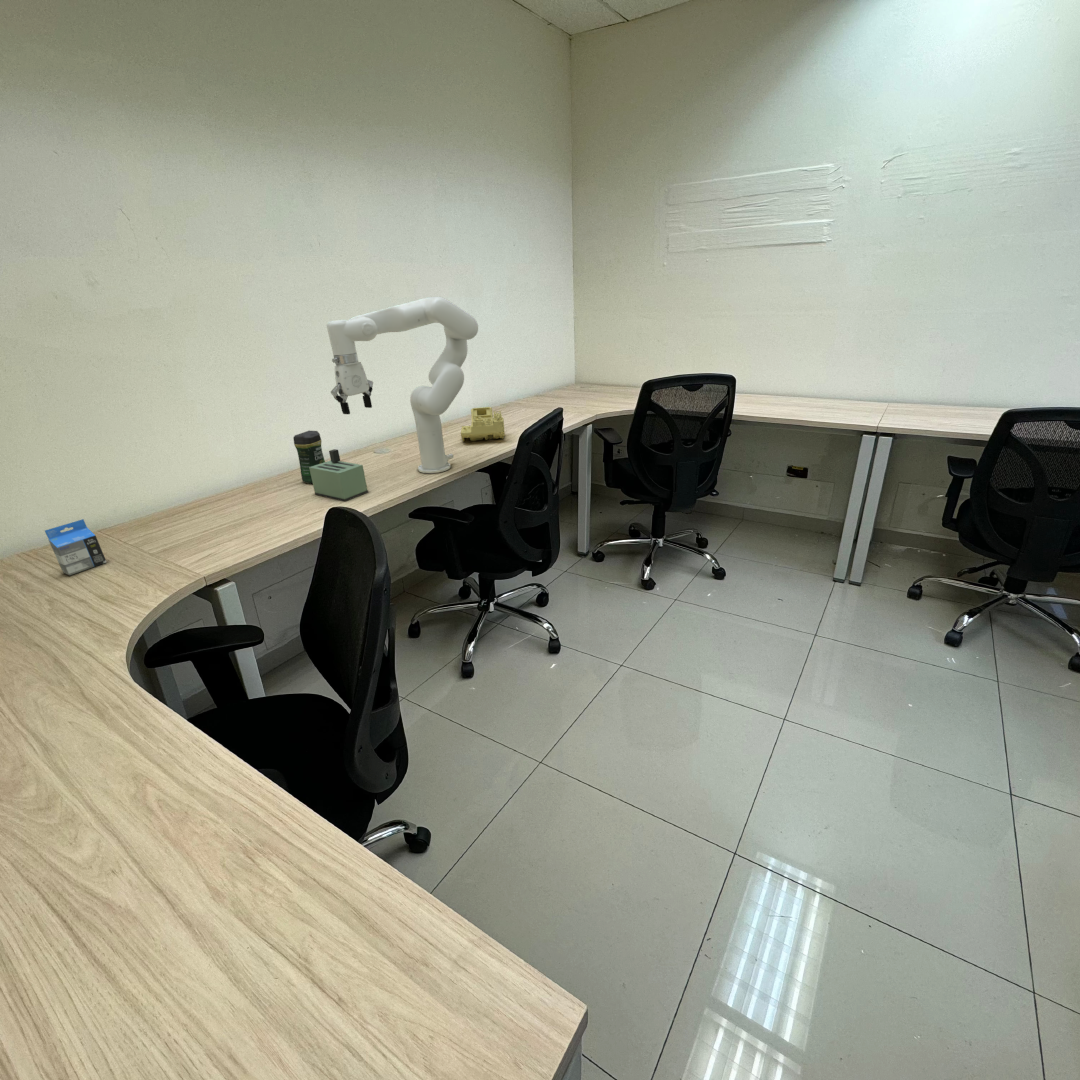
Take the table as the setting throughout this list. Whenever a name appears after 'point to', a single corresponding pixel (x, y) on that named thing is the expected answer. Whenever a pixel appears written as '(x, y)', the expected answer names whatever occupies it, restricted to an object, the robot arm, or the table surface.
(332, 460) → the slider
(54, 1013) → the table surface
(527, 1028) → the table surface
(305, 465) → the coffee jar
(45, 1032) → the table surface
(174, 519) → the table surface
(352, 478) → the toaster
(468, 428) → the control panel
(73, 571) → the tape cartridge
